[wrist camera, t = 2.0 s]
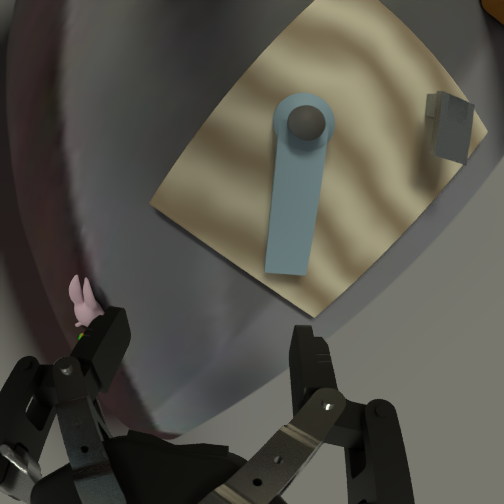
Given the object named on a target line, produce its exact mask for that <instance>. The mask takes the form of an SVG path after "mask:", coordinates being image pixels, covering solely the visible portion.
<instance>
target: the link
mask: <svg viewBox="0 0 504 504" xmlns="http://www.w3.org/2000/svg"><path fill="white" fill-rule="evenodd" d="M303 105H310V106H314V107H316V108H317V109H319V110H320V111H321V112H322V114H323V115H324V117H325V122H326V126H325V130H324V132H323V133H322V135H321V136H320V137H318V138H317V139H315V140H311V141H305V140H301V139H299V138H297V137H296V136H295V135H293V134H292V133H291V131H290V130H289V127H288V117H289V114H290V113H291V111H292V110H293V109H295V108H296V107H299V106H303ZM273 127H274V130H275V133H276V135H277V141H276V152H275V162H274V173H273V183H272V193H271V203H270V213H269V223H268V232H267V242H266V251H265V260H264V273H277V274H291V275H304V276H306V272H307V267H308V262H309V256H310V251H311V245H312V240H313V234H314V228H315V222H316V216H317V210H318V203H319V197H320V190H321V183H322V176H323V169H324V162H325V154H326V146H327V143H328V142H329V140H330V139H331V137H332V135H333V133H334V129H335V118H334V114H333V112H332V110H331V108H330V106H329V105H328V104H327V103H326V102H325V101H324V100H323V99H322V98H320V97H318V96H316V95H314V94H310V93H296V94H293V95H290V96H288V97H287V98H285V99H284V100H282V101H281V102H280V103H279V104H278V106H277V107H276V109H275V111H274V114H273Z"/></svg>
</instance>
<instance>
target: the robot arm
mask: <svg viewBox="0 0 504 504" xmlns="http://www.w3.org/2000/svg"><path fill="white" fill-rule="evenodd" d="M130 339H131V332H130V327H129V323H128V319H127V315H126V311H125V309H124V308H119V307H113V306H109V307H108V308H107V310H106V311H105V313H104V314H103V315H98V316H97V317H96V318H95V319H93V320H92V321H91V322H90V324H89V326H88V327H87V329H86V330H85V332H84V333H83V335H82V336H81V338H80V340H79V341H78V343H77V344H76V346H75V348H74V349H73V351H72V353H71V354H70V356H65V357H62V358H60V359H58V360H57V361H56V362H55V364H54V365H40V364H39V362H38V360H37V359H36V358H35V357H33V356H26V357H23V358H21V359H20V360H19V361H18V362H17V364H16V365H15V367H14V369H13V370H12V372H11V374H10V376H9V377H8V379H7V380H6V382H5V384H4V386H3V388H2V390H1V391H0V491H1V492H2V493H4V494H6V495H8V496H10V497H12V498H13V499H15V500H19V501H23V502H25V503H27V504H287V503H286V502H285V501H284V500H283V498H282V497H281V495H282V494H283V493H284V492H285V491H286V490H287V489H288V488H289V486H290V485H291V484H292V483H293V482H294V480H295V479H296V478H297V477H298V476H299V474H300V473H301V472H302V470H303V469H304V467H306V465H307V464H308V463H309V462H310V460H311V459H312V458H313V456H314V455H315V454H316V452H317V451H318V450H319V448H320V447H321V446H322V444H323V443H328V444H333V445H337V446H342V447H344V451H345V462H346V474H347V489H348V504H415V503H414V496H413V490H412V483H411V477H410V472H409V467H408V462H407V457H406V452H405V447H404V443H403V438H402V433H401V429H400V425H399V421H398V417H397V413H396V410H395V408H394V406H393V405H392V404H391V403H390V402H388V401H386V400H383V399H375V400H372V401H370V402H369V403H368V404H367V405H365V404H360V403H355V402H351V401H349V400H347V399H346V398H345V397H344V396H343V394H342V393H341V392H339V390H338V388H337V384H336V379H335V374H334V369H333V365H332V362H331V356H330V352H329V347H328V344H327V343H326V342H325V340H324V339H323V338H322V337H314V335H313V330H312V326H311V325H295V326H294V331H293V335H292V340H291V345H290V350H289V367H290V379H291V391H292V392H291V393H292V405H293V419H292V420H291V421H290V422H289V423H288V424H287V425H284V426H282V427H281V428H280V429H279V430H278V431H277V432H276V433H275V434H274V435H273V437H271V438H270V440H269V441H268V442H267V443H266V444H265V445H264V446H263V447H262V448H261V449H260V450H259V451H258V452H257V453H256V454H255V455H254V456H253V457H252V458H251V459H250V460H249V461H247V460H246V459H244V458H242V457H240V456H238V455H236V454H233V453H230V452H229V446H223V445H213V444H205V443H201V444H187V445H174V444H172V443H169V442H167V441H165V440H162V439H160V438H158V437H156V436H153V435H151V434H146V433H142V432H137V431H133V430H129V431H128V434H127V436H126V435H125V436H117V437H113V436H112V435H111V433H110V431H109V429H108V426H107V424H106V421H105V418H104V416H103V413H102V410H101V407H100V405H99V401H98V399H97V397H96V396H97V394H98V392H102V393H106V394H107V392H108V390H109V387H110V385H111V383H112V381H113V378H114V376H115V374H116V372H117V369H118V367H119V365H120V363H121V361H122V358H123V356H124V354H125V352H126V350H127V348H128V346H129V343H130ZM31 397H33V399H32V401H31V403H30V405H29V407H28V410H27V412H26V408H27V406H28V404H29V402H30V399H31ZM56 413H57V417H58V422H59V426H60V430H61V434H62V437H63V441H64V445H65V448H66V451H67V455H68V458H69V461H70V462H69V463H68V464H66V465H65V466H63V467H61V468H59V469H58V470H56V471H54V472H52V473H50V474H49V475H47V476H45V477H44V478H42V474H41V468H40V466H39V463H38V461H39V458H40V455H41V452H42V449H43V446H44V444H45V441H46V438H47V436H48V433H49V430H50V428H51V425H52V423H53V420H54V418H55V415H56Z"/></svg>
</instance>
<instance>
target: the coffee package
mask: <svg viewBox="0 0 504 504" xmlns="http://www.w3.org/2000/svg"><path fill="white" fill-rule="evenodd" d="M481 2H482V6H483V8H484V9H485V10H486V12H488V13H489V14H490V15H492V16H493V17H494V18H496V19H497V20H498V21H499V22H500V23H502V24H503V25H504V0H481Z"/></svg>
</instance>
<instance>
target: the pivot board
mask: <svg viewBox="0 0 504 504" xmlns="http://www.w3.org/2000/svg"><path fill="white" fill-rule="evenodd" d="M437 91H444V92H447V93H449V94H451V95H454V96H456V97H458V98H461V99H463V100H465V101H467V102H469V101H468V100H467V98H466V97H465V95H464V94H463V93H462V91H461V90H460V88H459V87H458V86H457V84H456V83H455V82H454V80H453V79H452V78H451V76H450V75H449V74H448V72H447V71H446V70H445V69H444V67H443V66H442V65H441V64H440V63H439V61H438V60H437V59H436V58H435V57H434V55H433V54H432V53H431V52H430V51H429V50H428V49H427V48H426V46H425V45H424V44H423V43H422V42H421V41H420V40H419V39H418V38H417V37H416V36H415V35H414V34H413V33H412V32H411V30H410V29H409V28H408V27H407V26H406V25H405V24H403V23H402V22H401V21H400V20H399V19H398V18H397V17H396V16H395V15H394V14H393V13H392V12H391V11H390V10H389V9H387V8H386V7H385V6H384V5H383V4H382V3H381V2H379V1H378V0H315V1H314V2H313V3H312V4H310V5H309V6H308V7H307V8H306V9H305V10H304V11H303V12H302V13H301V14H300V15H299V16H298V17H297V18H296V19H295V20H294V21H293V22H292V23H291V24H290V25H289V26H288V27H287V28H286V29H285V30H284V31H283V32H282V33H281V34H280V35H279V36H278V37H277V38H276V39H275V40H274V41H273V42H272V43H271V44H270V45H269V46H268V47H267V48H266V49H265V50H264V52H263V53H262V54H261V55H260V56H259V57H258V58H257V59H256V60H255V61H254V63H253V64H252V65H251V66H250V67H249V68H248V69H247V71H246V72H245V73H244V74H243V75H242V76H241V78H240V79H239V80H238V81H237V82H236V83H235V85H234V86H233V87H232V88H231V89H230V91H229V92H228V93H227V94H226V96H225V97H224V98H223V99H222V101H221V102H220V103H219V104H218V106H217V107H216V108H215V109H214V111H213V112H212V113H211V115H210V116H209V117H208V118H207V120H206V121H205V122H204V124H203V125H202V126H201V128H200V129H199V130H198V132H197V133H196V134H195V136H194V137H193V139H192V140H191V141H190V143H189V144H188V146H187V147H186V148H185V150H184V151H183V153H182V154H181V155H180V157H179V158H178V160H177V161H176V163H175V164H174V166H173V167H172V169H171V170H170V172H169V173H168V175H167V176H166V178H165V179H164V181H163V182H162V184H161V185H160V187H159V188H158V190H157V192H156V193H155V195H154V196H153V198H152V200H151V201H150V203H149V204H151V205H152V206H153V207H155V208H156V209H158V210H159V211H160V212H162V213H163V214H165V215H166V216H167V217H169V218H170V219H172V220H173V221H174V222H176V223H177V224H179V225H180V226H182V227H183V228H184V229H186V230H187V231H189V232H190V233H191V234H193V235H194V236H196V237H197V238H199V239H200V240H201V241H203V242H204V243H206V244H207V245H208V246H210V247H211V248H213V249H214V250H216V251H217V252H219V253H220V254H221V255H223V256H224V257H226V258H227V259H229V260H230V261H231V262H233V263H234V264H236V265H237V266H239V267H240V268H242V269H243V270H244V271H246V272H247V273H249V274H250V275H252V276H253V277H255V278H256V279H258V280H259V281H260V282H262V283H263V284H265V285H266V286H268V287H269V288H271V289H272V290H274V291H275V292H277V293H278V294H280V295H281V296H283V297H284V298H285V299H287V300H288V301H290V302H291V303H293V304H294V305H296V306H297V307H299V308H300V309H302V310H303V311H305V312H306V313H308V314H309V315H311V316H312V317H314V318H315V317H316V316H317V315H318V314H319V313H321V312H322V311H323V310H324V309H325V308H326V307H327V306H328V305H330V304H331V303H332V302H333V301H334V300H335V299H336V298H337V297H338V296H340V295H341V294H342V293H343V292H344V291H345V290H346V289H347V288H348V287H349V286H350V285H351V284H352V283H354V282H355V281H356V280H357V279H358V278H359V277H360V276H361V275H362V274H363V273H364V272H365V271H366V270H367V269H368V268H369V267H370V266H371V265H372V264H373V263H374V262H375V261H376V260H377V259H378V258H379V257H380V256H381V255H382V254H383V253H384V252H385V251H386V250H387V249H388V248H389V247H390V246H391V245H392V244H393V243H394V242H395V241H396V240H397V239H398V238H399V237H400V236H401V235H402V234H403V233H404V232H405V231H406V230H407V228H408V227H409V226H410V225H411V224H412V223H413V222H414V221H415V220H416V219H417V218H418V217H419V215H420V214H421V213H422V212H423V211H424V210H425V209H426V208H427V207H428V205H429V204H430V203H431V202H432V201H433V200H434V199H435V197H436V196H437V195H438V194H439V193H440V192H441V191H442V189H443V188H444V187H445V186H446V185H447V183H448V182H449V181H450V180H451V179H452V177H453V176H454V175H455V174H456V173H457V171H458V170H459V169H460V168H461V166H462V165H463V164H460V163H457V162H454V161H451V160H447V159H444V158H441V157H437V156H434V155H431V154H429V150H430V144H431V137H432V130H433V122H434V119H432V118H429V117H426V116H425V108H426V98H427V94H436V93H437ZM296 93H310V94H314V95H316V96H318V97H320V98H322V99H323V100H324V101H325V102H326V103H327V104H328V105H329V106H330V108H331V110H332V112H333V114H334V118H335V129H334V133H333V135H332V137H331V139H330V140H329V142H328V143H327V146H326V154H325V162H324V169H323V176H322V183H321V190H320V197H319V203H318V210H317V216H316V222H315V228H314V234H313V240H312V245H311V251H310V256H309V262H308V267H307V272H306V276H304V275H291V274H277V273H264V260H265V251H266V242H267V232H268V223H269V213H270V203H271V193H272V183H273V173H274V162H275V152H276V141H277V135H276V133H275V130H274V127H273V114H274V111H275V109H276V107H277V106H278V104H279V103H280V102H281V101H282V100H284V99H285V98H287V97H288V96H290V95H293V94H296ZM325 126H326V122H325V117H324V115H323V114H322V112H321V111H320V110H319V109H317V108H316V107H314V106H310V105H303V106H299V107H296V108H295V109H293V110H292V111H291V113H290V114H289V117H288V127H289V130H290V131H291V133H292V134H293V135H295V136H296V137H297V138H299V139H301V140H305V141H311V140H315V139H317V138H318V137H320V136H321V135H322V133H323V132H324V130H325ZM487 132H488V131H487V130H486V128H485V126H484V125H483V123H482V121H481V120H480V118H479V117H478V115H477V113H476V112H475V110H474V115H473V124H472V132H471V139H470V146H469V152H468V158H469V156H470V155H471V154H472V152H473V151H474V150H475V148H476V147H477V146H478V145H479V143H480V142H481V141H482V139H483V138H484V136H485V135H486V134H487ZM468 158H467V159H468Z"/></svg>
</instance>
